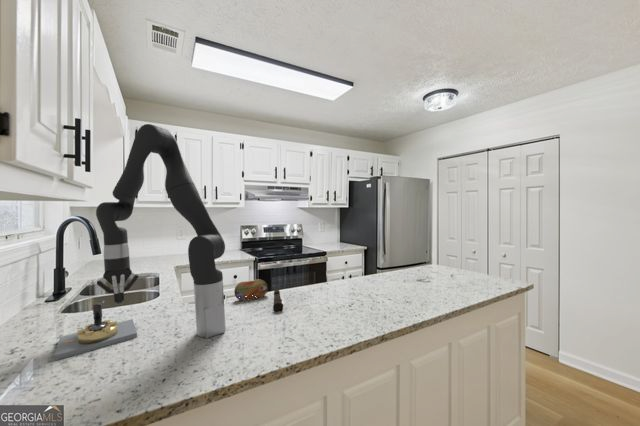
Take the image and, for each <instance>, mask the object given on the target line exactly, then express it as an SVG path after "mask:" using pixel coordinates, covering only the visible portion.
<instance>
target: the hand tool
mask: <svg viewBox="0 0 640 426" xmlns="http://www.w3.org/2000/svg"><path fill="white" fill-rule="evenodd" d="M282 302H283V300H282V298H281V291H280V290H279V288H276V289H274V291H273V305H272V310H273V312H274V313H281V312H283V311H284V303H282Z"/></svg>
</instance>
